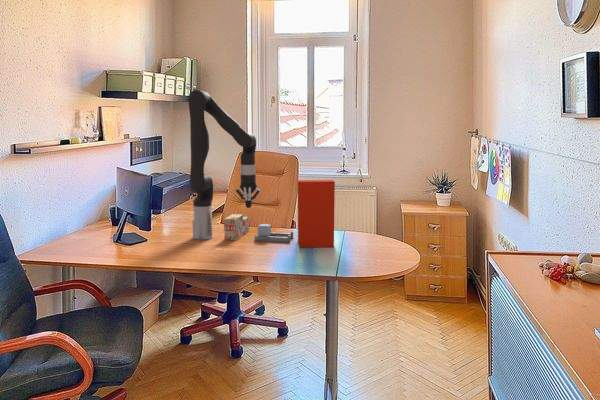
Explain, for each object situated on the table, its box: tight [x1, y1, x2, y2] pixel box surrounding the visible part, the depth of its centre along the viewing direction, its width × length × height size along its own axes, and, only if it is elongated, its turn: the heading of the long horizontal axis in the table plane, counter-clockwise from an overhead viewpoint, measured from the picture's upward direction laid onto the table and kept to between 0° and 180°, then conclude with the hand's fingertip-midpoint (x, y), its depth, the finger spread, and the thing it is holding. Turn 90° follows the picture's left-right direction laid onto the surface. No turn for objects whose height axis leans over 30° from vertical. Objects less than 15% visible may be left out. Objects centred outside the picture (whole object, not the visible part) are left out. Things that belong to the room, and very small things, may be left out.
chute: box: [253, 230, 294, 244], centre depth 246 cm, size 18×9×5 cm, turn 80°
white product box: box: [223, 213, 250, 241], centre depth 254 cm, size 21×6×12 cm, turn 169°
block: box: [257, 223, 272, 236], centre depth 246 cm, size 6×6×7 cm
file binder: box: [297, 179, 336, 248], centre depth 236 cm, size 8×17×32 cm, turn 93°
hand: (248, 207), depth 246 cm, fingers closed
